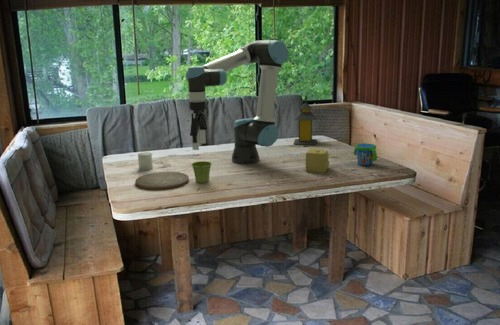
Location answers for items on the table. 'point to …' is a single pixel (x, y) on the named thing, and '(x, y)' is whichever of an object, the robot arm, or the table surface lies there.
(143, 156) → the grey small cylinder
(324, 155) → the cheese
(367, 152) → the snack cup
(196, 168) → the plant pot
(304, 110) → the lantern
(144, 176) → the trivet
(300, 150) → the table surface
